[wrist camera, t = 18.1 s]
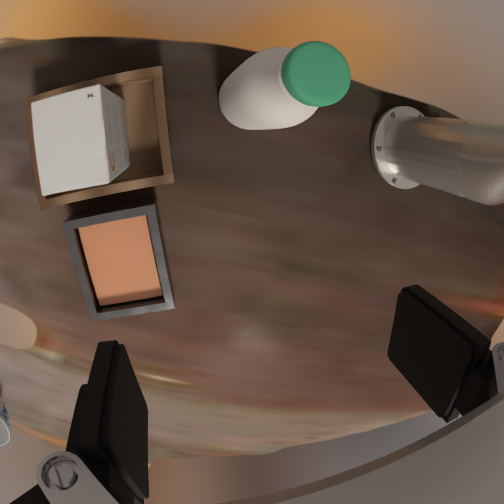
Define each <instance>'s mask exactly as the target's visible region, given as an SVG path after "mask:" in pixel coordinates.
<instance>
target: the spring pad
mask: <svg viewBox="0 0 504 504" xmlns="http://www.w3.org/2000/svg"><path fill="white" fill-rule="evenodd" d="M79 233H80V237H81V241H82V245H83V249H84V253H85V256H86V260H87V264H88V267H89V271H90V274H91V278H92V281H93V285H94V288H95V291H96V294H97V297H98V301H99V304H100V306H102V305H108V304H115V303H121V302H127V301H133V300H139V299H146V298H152V297H158V296H163V292H162V287H161V283H160V278H159V274H158V269H157V265H156V260H155V255H154V250H153V245H152V240H151V235H150V230H149V224H148V219H147V215H143V216H138V217H132V218H127V219H122V220H116V221H111V222H106V223H101V224H96V225H91V226H86V227H81V228H79Z"/></svg>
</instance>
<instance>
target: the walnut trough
mask: <svg viewBox="0 0 504 504" xmlns="http://www.w3.org/2000/svg"><path fill="white" fill-rule="evenodd" d="M97 84H101V85H102V86H104V87H105V88H107V89H108V90H110V91H111V92H113V93H114V94H116V95H117V96H119V97H120V98H122V99H123V100H124V105H125V115H126V126H127V136H128V145H129V154H130V164H131V165H130V166H129V167H128V168H127V169H126V170H124V171H123V172H122V173H120V174H119V175H118V176H117V177H115V178H114V179H113V180H112V181H111V182H110V183H108V184H103V185H98V186H92V187H86V188H81V189H75V190H70V191H65V192H60V193H55V194H50V195H46V196H42V193H41V188H40V182H39V176H38V169H37V163H36V155H35V147H34V138H33V128H32V116H31V103H32V102H35V101H39V100H42V99H45V98H49V97H52V96H56V95H59V94H63V93H66V92H70V91H73V90H77V89H81V88H85V87H89V86H93V85H97ZM25 107H26V119H27V129H28V138H29V146H30V153H31V160H32V167H33V173H34V178H35V184H36V189H37V194H38V199H39V204H40V209H41V210H42V209H46V208H51V207H55V206H59V205H63V204H68V203H72V202H76V201H81V200H85V199H90V198H95V197H100V196H104V195H109V194H114V193H120V192H125V191H130V190H135V189H141V188H146V187H152V186H158V185H164V184H170V183H174V173H173V166H172V158H171V150H170V141H169V132H168V123H167V114H166V104H165V94H164V82H163V71H162V66H156V67H150V68H144V69H138V70H133V71H127V72H122V73H117V74H113V75H108V76H104V77H99V78H95V79H91V80H87V81H83V82H79V83H75V84H72V85H68V86H65V87H61V88H58V89H54V90H51V91H48V92H45V93H42V94H39V95H36V96H33V97H30V98H27V99H25Z"/></svg>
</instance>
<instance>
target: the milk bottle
mask: <svg viewBox="0 0 504 504" xmlns="http://www.w3.org/2000/svg"><path fill="white" fill-rule="evenodd" d="M350 80H351V75H350V69H349V65H348V63H347V61H346V59H345V58H344V56H343V55H342V54H341V53H340V52H339V51H338V50H337V49H336V48H334V47H333V46H331V45H329V44H327V43H324V42H318V41H310V42H305V43H303V44H300V45H298V46H297V47H295V48H293V49H292V48H286V47H275V48H269V49H265V50H263V51H260V52H258V53H256V54H254V55H253V56H251V57H250V58H248V59H247V60H246V61H245V62H243V63H242V64H241V65H240V66H239V67H238V68H237V69H236V70H235V71H234V72H232V73H231V74H230V75H229V76H228V77H227V79H226V80H225V81H224V83H223V84H222V86H221V89H220V92H219V105H220V109H221V111H222V113H223V115H224V116H225V118H226V119H227V120H228V121H229V122H230V123H232V124H233V125H235V126H237V127H239V128H242V129H248V130H263V129H280V128H287V127H291V126H294V125H297V124H299V123H302V122H303V121H305V120H306V119H308V118H309V117H310V116H311V115H313V113H314V112H315V111H316V110H317V108H318V107H322V106H327V105H331V104H334V103H336V102H337V101H339V100H340V99H341V98H342V97H343V96H344V95H345V94H346V92H347V91H348V88H349V86H350Z"/></svg>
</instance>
